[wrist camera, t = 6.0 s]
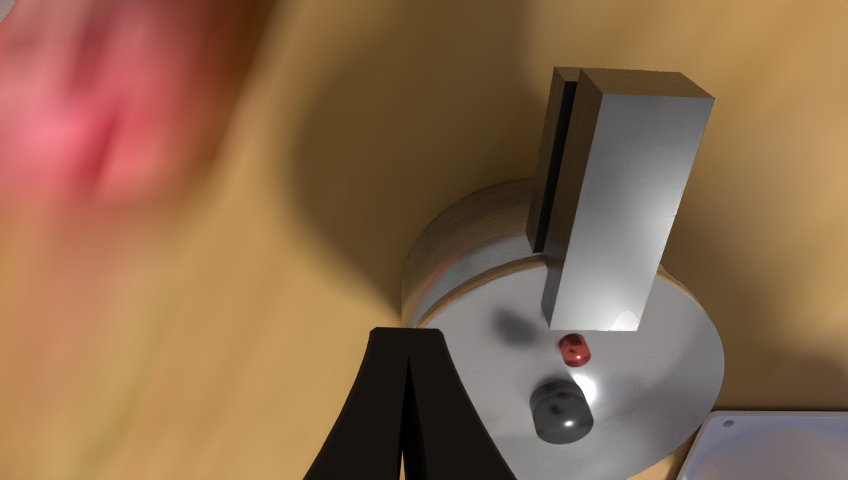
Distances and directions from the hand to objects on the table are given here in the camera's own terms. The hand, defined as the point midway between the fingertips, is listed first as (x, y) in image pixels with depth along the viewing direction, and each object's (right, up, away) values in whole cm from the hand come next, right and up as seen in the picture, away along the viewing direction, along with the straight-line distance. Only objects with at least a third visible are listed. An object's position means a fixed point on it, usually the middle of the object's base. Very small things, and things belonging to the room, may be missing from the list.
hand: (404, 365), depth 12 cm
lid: (+5, 0, +6) cm, 8 cm away
